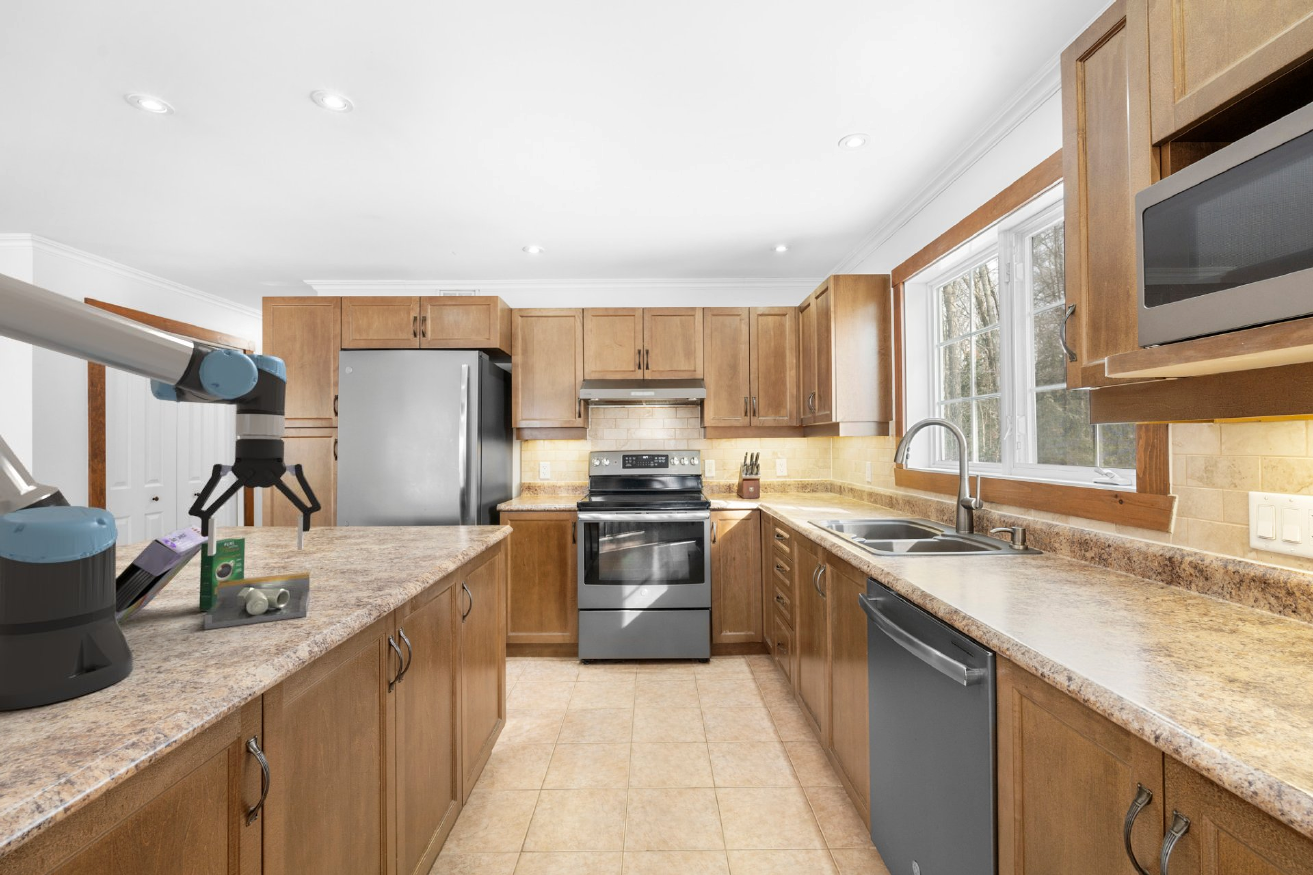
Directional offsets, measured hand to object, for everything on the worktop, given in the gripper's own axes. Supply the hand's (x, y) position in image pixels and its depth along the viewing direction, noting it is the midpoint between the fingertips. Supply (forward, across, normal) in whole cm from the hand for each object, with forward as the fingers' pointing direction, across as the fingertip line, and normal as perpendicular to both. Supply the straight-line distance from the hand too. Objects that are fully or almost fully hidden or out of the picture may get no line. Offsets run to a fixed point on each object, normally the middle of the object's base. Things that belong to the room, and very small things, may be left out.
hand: (257, 551), depth 106 cm
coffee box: (+12, +7, -12) cm, 19 cm away
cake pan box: (+11, +23, -8) cm, 27 cm away
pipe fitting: (+11, 0, 0) cm, 11 cm away
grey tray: (+12, -1, -1) cm, 12 cm away
